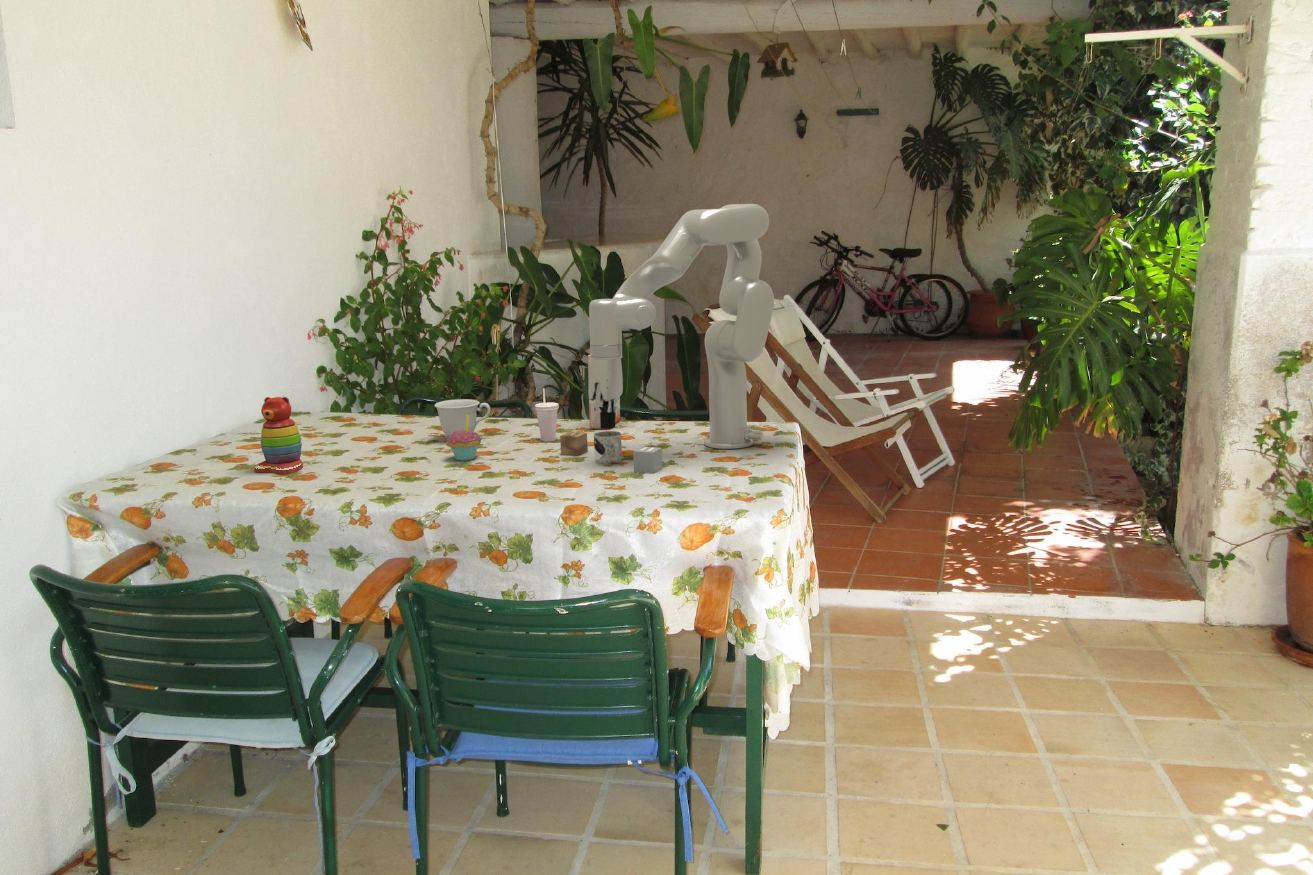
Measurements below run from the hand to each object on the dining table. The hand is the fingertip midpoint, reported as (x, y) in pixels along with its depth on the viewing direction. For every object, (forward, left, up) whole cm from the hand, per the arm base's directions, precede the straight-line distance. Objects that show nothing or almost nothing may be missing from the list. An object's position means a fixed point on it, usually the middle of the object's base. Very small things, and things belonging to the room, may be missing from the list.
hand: (607, 427), depth 252 cm
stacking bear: (+75, +29, -9) cm, 80 cm away
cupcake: (+37, +7, -9) cm, 38 cm away
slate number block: (-12, +5, -9) cm, 16 cm away
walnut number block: (+13, -6, -9) cm, 17 cm away
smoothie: (+27, -18, -9) cm, 34 cm away
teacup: (+50, -13, -9) cm, 52 cm away
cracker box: (+21, -41, -9) cm, 47 cm away
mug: (0, 0, -9) cm, 9 cm away
